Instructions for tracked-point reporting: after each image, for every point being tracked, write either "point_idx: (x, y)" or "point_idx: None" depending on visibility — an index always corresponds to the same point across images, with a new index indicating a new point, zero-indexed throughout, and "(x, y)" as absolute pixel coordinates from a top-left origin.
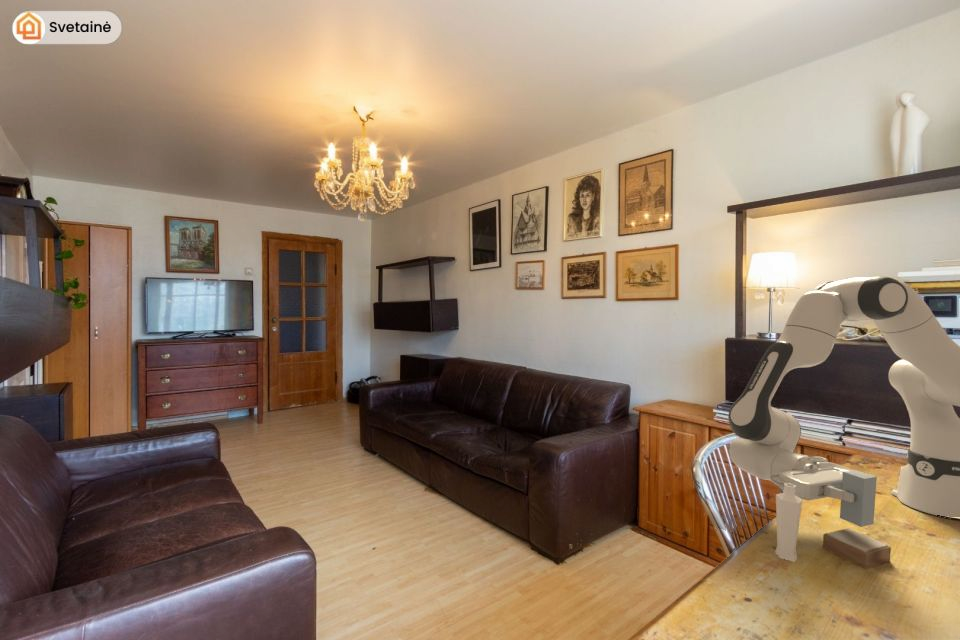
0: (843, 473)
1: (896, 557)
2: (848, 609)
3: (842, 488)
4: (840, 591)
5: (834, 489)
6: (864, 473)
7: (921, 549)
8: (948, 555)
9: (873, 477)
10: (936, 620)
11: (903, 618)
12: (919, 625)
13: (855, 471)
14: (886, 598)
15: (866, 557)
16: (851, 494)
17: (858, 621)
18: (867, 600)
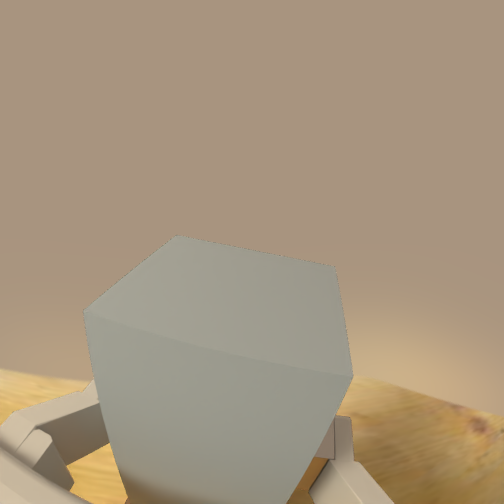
0: (343, 386)
1: (105, 463)
2: (467, 441)
3: (293, 487)
4: (440, 475)
5: (389, 500)
6: (157, 267)
7: (5, 409)
8: (8, 373)
9: (216, 244)
10: (352, 386)
11: (401, 406)
12: (393, 393)
13: (161, 306)
14: (371, 438)
15: None
16: (348, 418)
17: (472, 422)
18: (415, 446)
